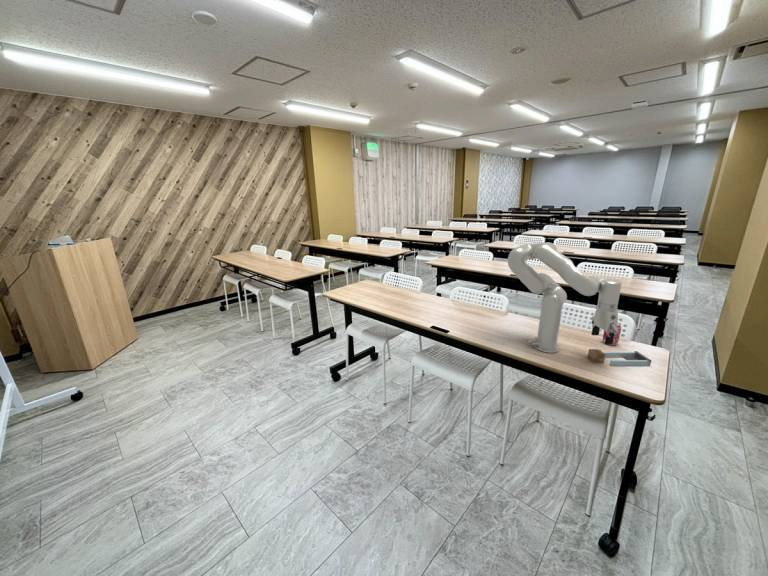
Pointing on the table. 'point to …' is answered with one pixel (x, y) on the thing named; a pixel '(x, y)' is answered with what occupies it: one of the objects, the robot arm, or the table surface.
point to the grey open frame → (628, 359)
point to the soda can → (616, 338)
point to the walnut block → (596, 356)
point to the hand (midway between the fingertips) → (601, 339)
